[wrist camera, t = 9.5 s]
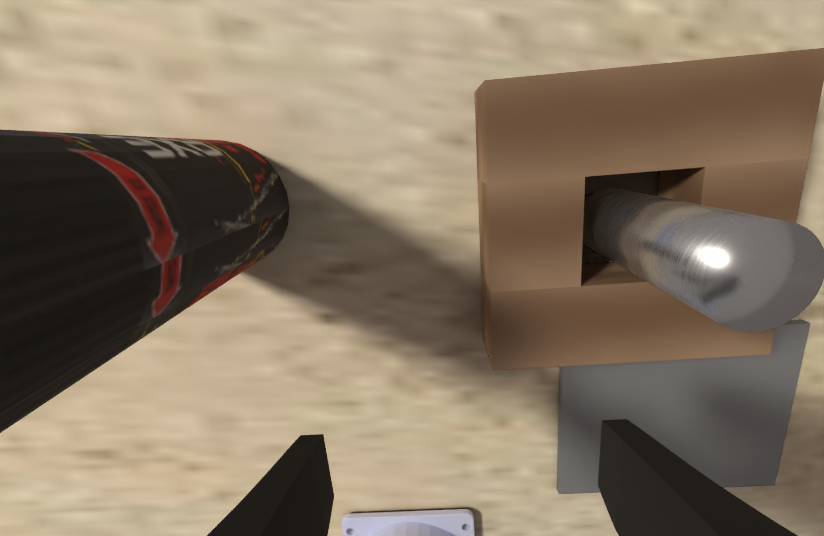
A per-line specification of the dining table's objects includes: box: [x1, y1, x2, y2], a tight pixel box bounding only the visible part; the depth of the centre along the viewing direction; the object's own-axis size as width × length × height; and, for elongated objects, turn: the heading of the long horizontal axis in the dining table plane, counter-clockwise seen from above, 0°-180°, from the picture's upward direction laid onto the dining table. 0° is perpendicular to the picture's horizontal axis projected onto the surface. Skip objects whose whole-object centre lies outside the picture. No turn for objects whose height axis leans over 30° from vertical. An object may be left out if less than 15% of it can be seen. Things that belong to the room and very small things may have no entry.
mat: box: [557, 320, 810, 494], centre depth 21 cm, size 10×12×1 cm
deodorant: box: [0, 130, 289, 433], centre depth 12 cm, size 6×6×15 cm
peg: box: [583, 188, 824, 332], centre depth 14 cm, size 3×3×9 cm
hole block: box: [475, 48, 824, 370], centre depth 17 cm, size 12×12×3 cm
